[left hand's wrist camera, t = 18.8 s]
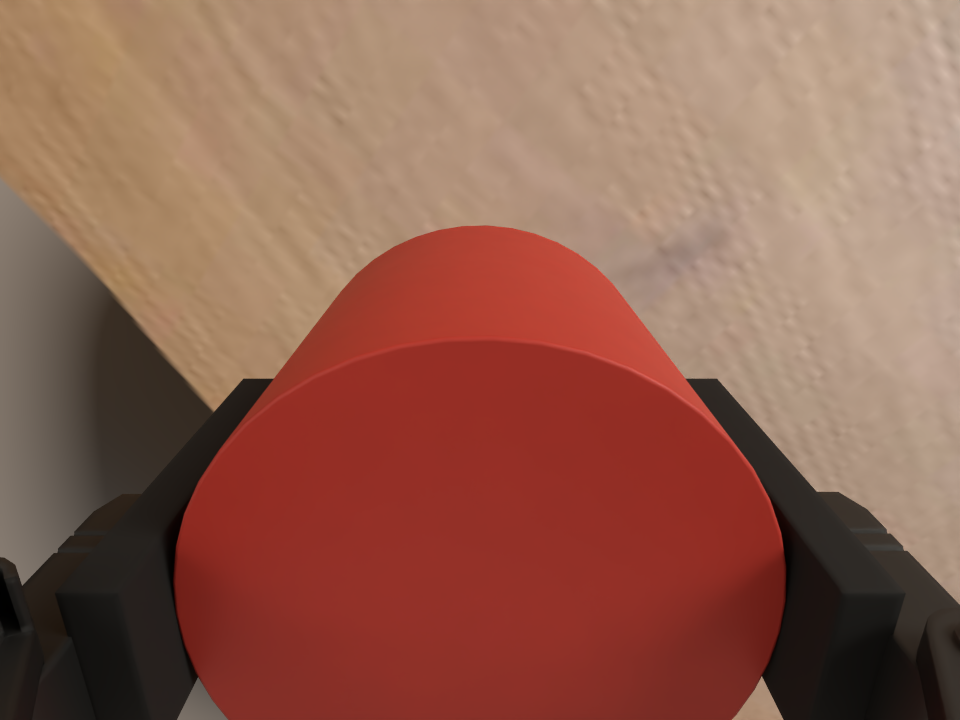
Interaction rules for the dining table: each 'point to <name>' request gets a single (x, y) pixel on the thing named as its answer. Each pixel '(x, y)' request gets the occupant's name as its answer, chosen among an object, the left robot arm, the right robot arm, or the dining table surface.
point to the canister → (479, 510)
